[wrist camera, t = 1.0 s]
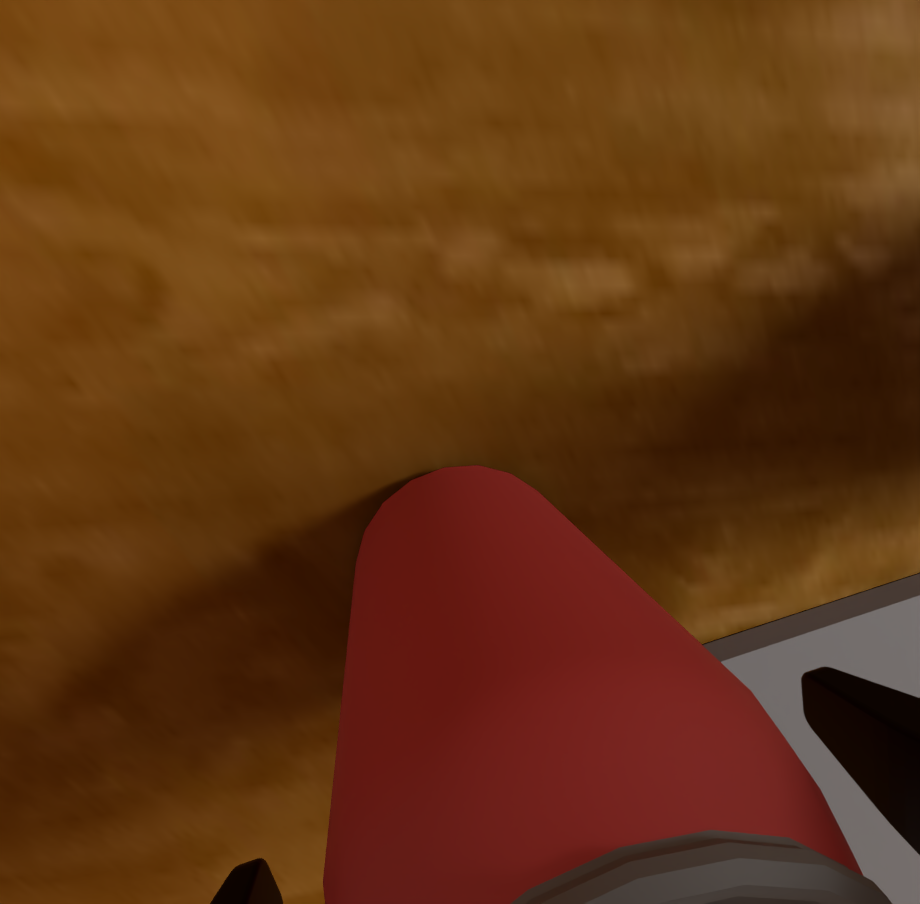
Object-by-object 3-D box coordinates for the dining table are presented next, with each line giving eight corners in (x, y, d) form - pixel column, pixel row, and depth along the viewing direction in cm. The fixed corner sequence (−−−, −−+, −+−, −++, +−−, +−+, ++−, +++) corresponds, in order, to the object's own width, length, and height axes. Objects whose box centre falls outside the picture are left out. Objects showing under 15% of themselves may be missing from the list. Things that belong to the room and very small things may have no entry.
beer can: (574, 469, 16) (1088, 803, 4) (541, 652, 17) (874, 1285, 6) (366, 450, 15) (320, 841, 3) (347, 649, 16) (269, 1438, 4)
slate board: (998, 547, 20) (1030, 558, 19) (985, 851, 23) (1012, 873, 22) (593, 680, 18) (605, 700, 17) (653, 983, 22) (666, 1013, 21)
